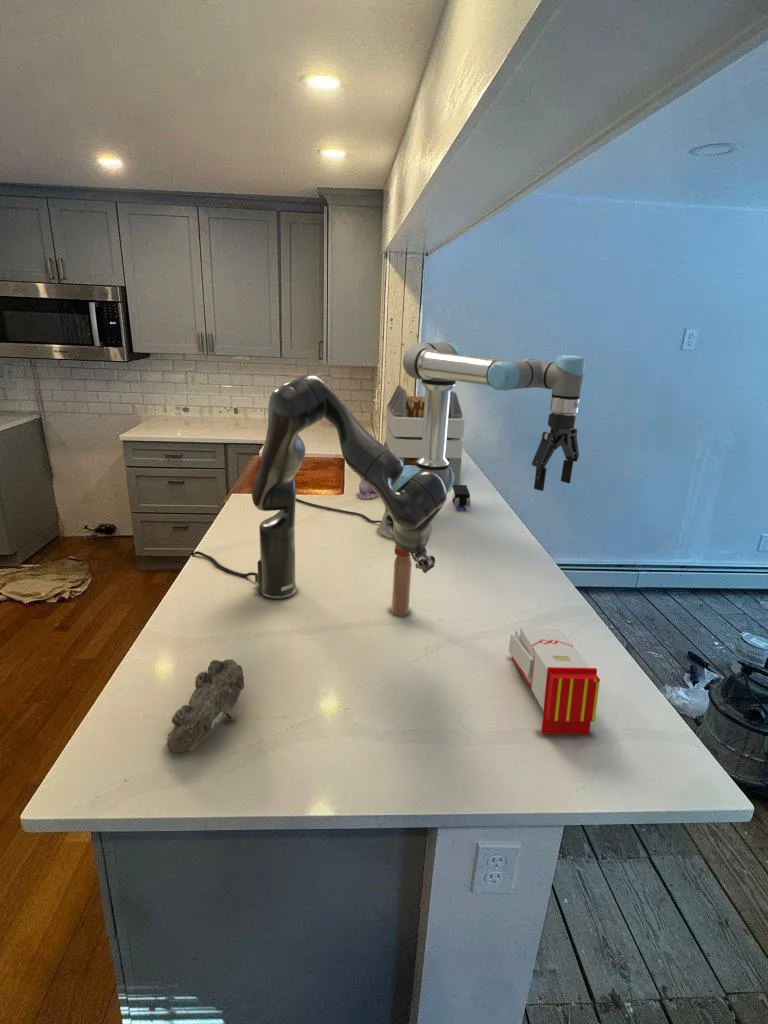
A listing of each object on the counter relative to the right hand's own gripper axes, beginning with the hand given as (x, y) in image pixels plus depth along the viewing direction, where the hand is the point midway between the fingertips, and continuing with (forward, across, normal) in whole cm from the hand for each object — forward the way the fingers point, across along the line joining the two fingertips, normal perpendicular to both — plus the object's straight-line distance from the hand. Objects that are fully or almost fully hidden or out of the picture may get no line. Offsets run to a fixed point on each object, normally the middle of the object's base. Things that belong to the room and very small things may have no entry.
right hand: (552, 485), depth 166 cm
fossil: (+28, -107, 0) cm, 110 cm away
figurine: (+28, +3, +87) cm, 92 cm away
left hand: (+4, -60, -3) cm, 60 cm away
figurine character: (+28, +26, +56) cm, 68 cm away
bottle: (+28, -51, +8) cm, 59 cm away
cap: (+10, -51, +8) cm, 52 cm away
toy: (+28, -48, -35) cm, 66 cm away
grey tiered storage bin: (+28, +46, +101) cm, 115 cm away
